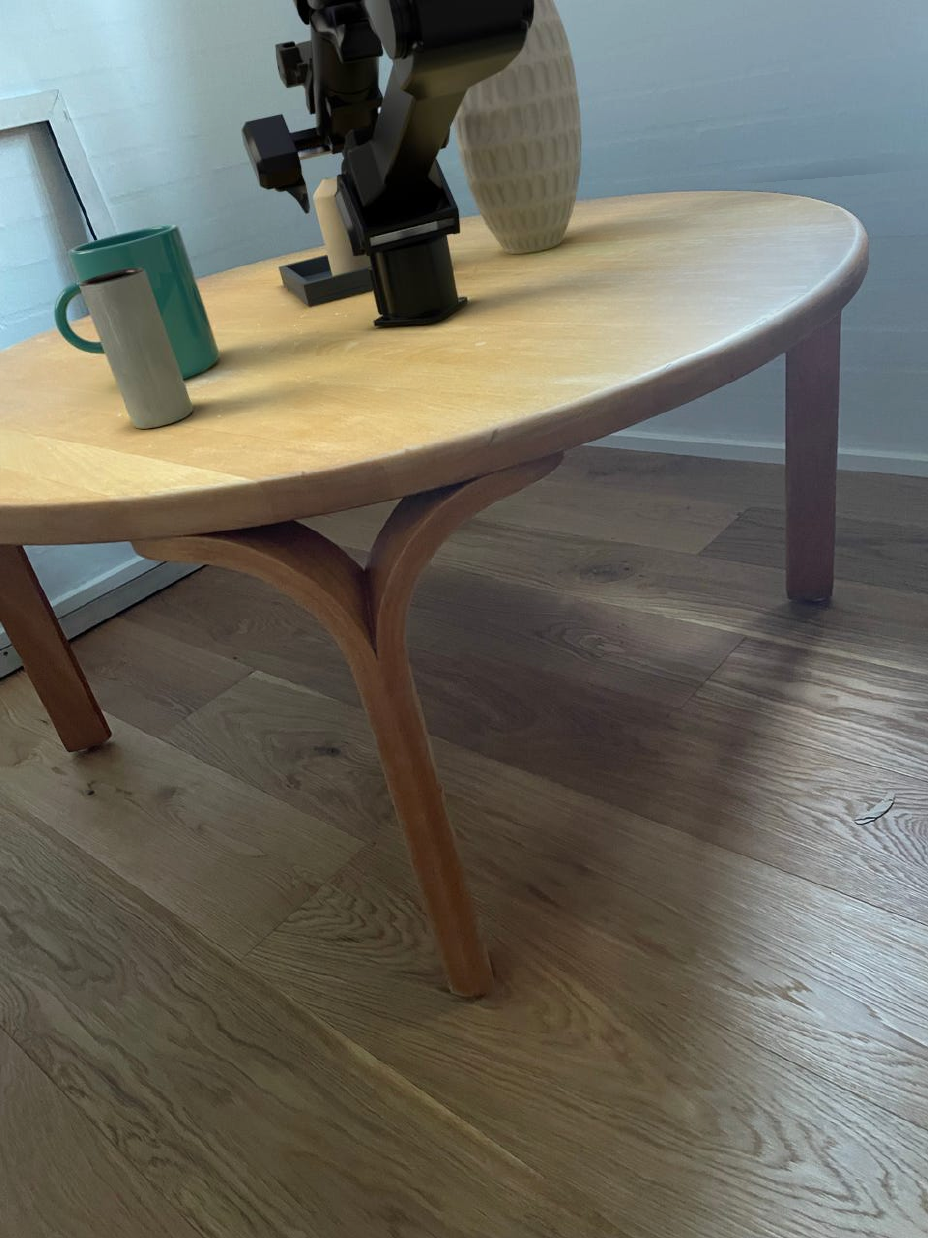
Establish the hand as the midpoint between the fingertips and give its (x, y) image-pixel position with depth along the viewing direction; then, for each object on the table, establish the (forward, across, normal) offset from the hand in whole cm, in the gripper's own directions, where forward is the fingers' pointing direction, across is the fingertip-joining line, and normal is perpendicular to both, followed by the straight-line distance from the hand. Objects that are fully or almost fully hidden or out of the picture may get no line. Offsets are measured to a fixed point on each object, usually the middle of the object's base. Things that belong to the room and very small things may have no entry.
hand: (349, 199), depth 93 cm
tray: (+9, 0, +3) cm, 10 cm away
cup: (-5, +24, +17) cm, 30 cm away
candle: (+9, 0, +2) cm, 9 cm away
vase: (+4, -18, +8) cm, 20 cm away
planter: (-15, +24, +27) cm, 39 cm away
